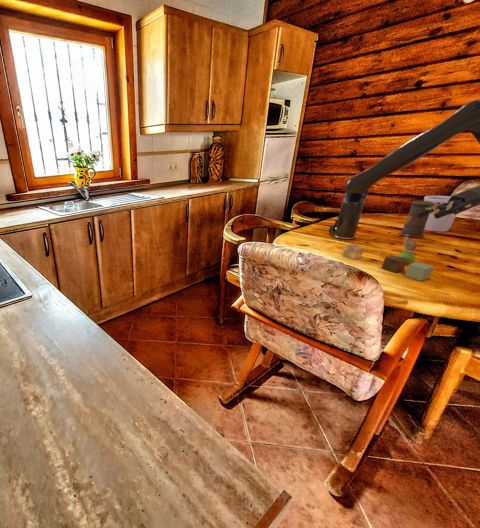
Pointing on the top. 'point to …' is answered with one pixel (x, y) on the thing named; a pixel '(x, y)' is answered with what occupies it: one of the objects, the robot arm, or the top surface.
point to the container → (416, 220)
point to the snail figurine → (408, 250)
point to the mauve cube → (353, 251)
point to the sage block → (419, 271)
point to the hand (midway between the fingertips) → (425, 216)
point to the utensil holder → (440, 223)
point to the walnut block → (394, 263)
